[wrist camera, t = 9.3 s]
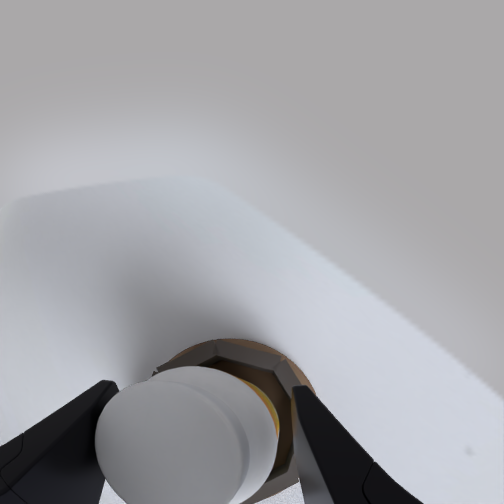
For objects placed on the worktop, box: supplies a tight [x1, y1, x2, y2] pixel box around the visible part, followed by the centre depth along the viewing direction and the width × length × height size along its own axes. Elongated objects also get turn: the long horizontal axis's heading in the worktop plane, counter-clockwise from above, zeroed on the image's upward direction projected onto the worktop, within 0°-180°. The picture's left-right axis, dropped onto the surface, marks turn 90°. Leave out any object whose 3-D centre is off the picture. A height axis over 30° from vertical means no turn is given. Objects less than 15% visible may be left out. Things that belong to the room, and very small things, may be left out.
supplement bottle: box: [95, 366, 279, 504], centre depth 10 cm, size 5×5×10 cm
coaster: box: [152, 339, 316, 504], centre depth 14 cm, size 10×10×3 cm
